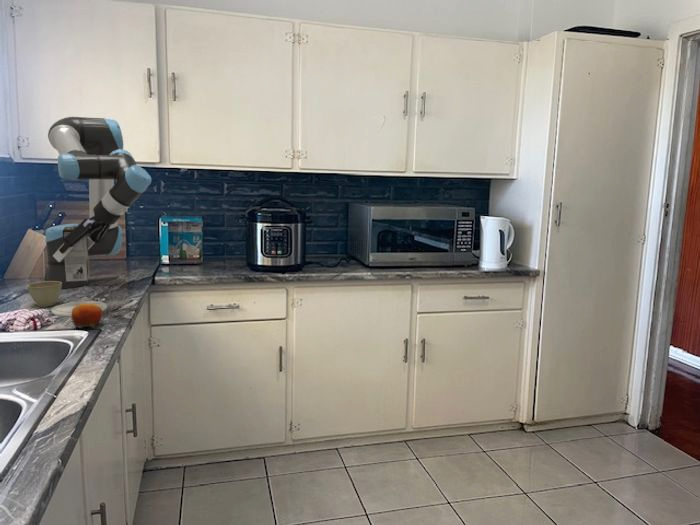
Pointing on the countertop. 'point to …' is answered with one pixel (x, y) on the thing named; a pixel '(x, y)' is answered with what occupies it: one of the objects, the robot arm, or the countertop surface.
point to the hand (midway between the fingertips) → (67, 256)
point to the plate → (68, 307)
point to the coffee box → (77, 259)
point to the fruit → (86, 315)
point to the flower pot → (45, 292)
